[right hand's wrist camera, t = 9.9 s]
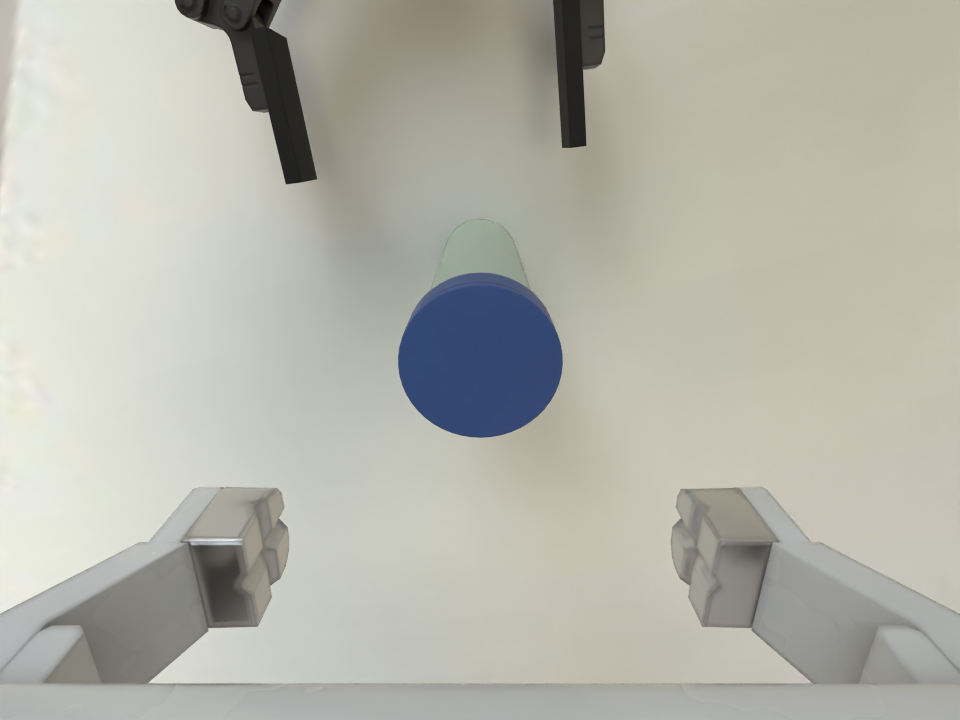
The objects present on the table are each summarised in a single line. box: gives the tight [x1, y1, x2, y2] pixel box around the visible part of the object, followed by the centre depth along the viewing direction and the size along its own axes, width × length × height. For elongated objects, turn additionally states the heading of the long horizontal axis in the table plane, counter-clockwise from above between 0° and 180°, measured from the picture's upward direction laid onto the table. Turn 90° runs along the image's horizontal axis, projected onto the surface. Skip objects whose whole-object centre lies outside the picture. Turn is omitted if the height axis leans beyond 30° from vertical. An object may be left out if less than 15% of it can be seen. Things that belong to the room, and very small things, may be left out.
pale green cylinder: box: [431, 219, 530, 290], centre depth 27 cm, size 5×5×19 cm
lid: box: [398, 272, 563, 437], centre depth 18 cm, size 5×5×2 cm
